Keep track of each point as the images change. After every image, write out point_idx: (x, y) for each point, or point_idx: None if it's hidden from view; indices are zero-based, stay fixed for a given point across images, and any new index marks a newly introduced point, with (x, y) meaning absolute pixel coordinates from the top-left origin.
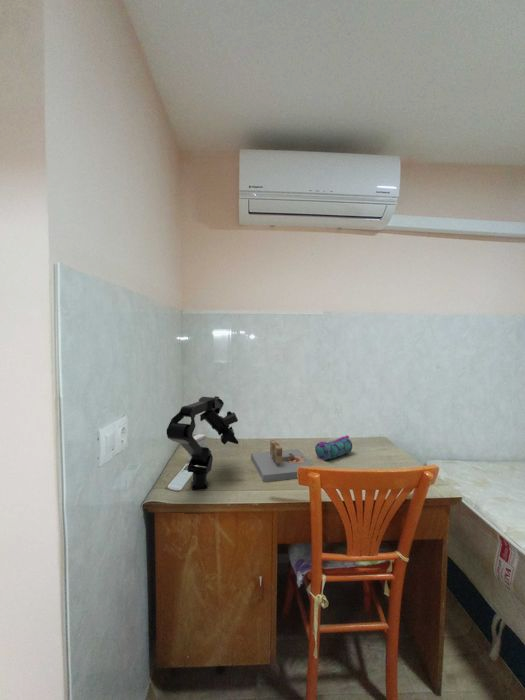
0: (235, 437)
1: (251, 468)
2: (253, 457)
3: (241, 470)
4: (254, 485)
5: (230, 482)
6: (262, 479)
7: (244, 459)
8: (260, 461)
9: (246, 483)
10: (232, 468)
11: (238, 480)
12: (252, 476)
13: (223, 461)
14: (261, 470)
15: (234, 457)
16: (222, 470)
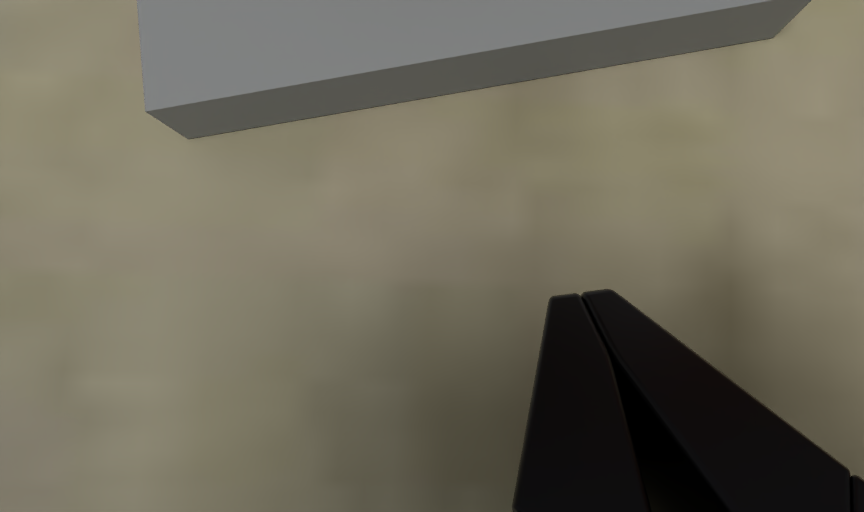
0: (563, 426)
1: (444, 147)
2: (281, 89)
3: (488, 267)
4: (848, 136)
5: (783, 407)
6: (744, 37)
7: (199, 220)
8: (422, 4)
9: (804, 221)
10: (430, 376)
11: (734, 310)
12: (640, 146)
13: (227, 492)
14: (685, 7)
15: (129, 344)
16: (476, 506)
